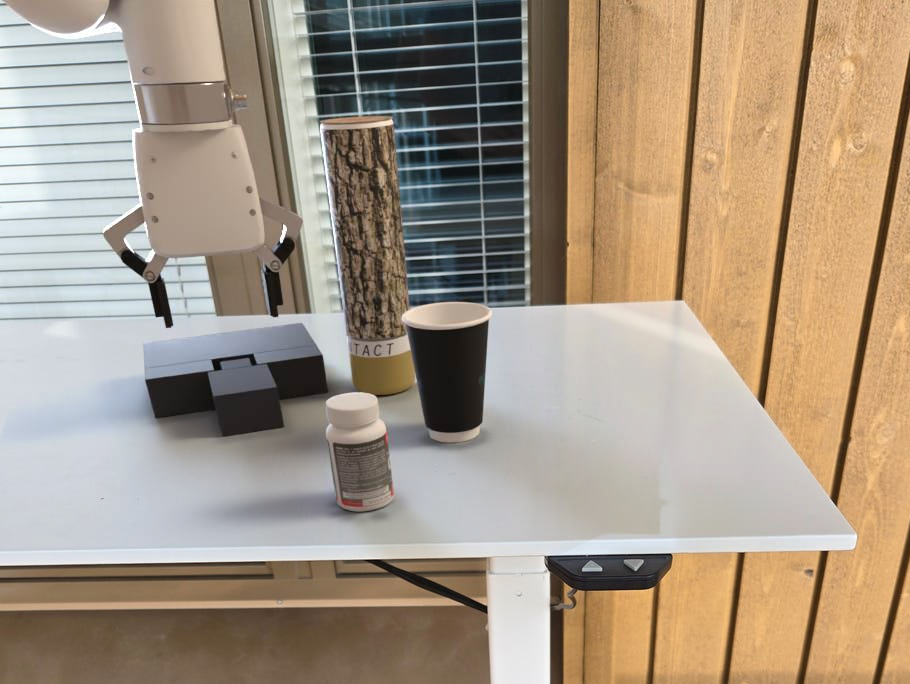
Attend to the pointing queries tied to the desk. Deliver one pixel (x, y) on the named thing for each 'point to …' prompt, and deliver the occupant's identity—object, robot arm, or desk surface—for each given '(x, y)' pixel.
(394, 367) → the paper tube
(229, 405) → the dark grey stepped block
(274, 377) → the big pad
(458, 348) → the dixie cup
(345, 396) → the pill bottle
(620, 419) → the desk surface
